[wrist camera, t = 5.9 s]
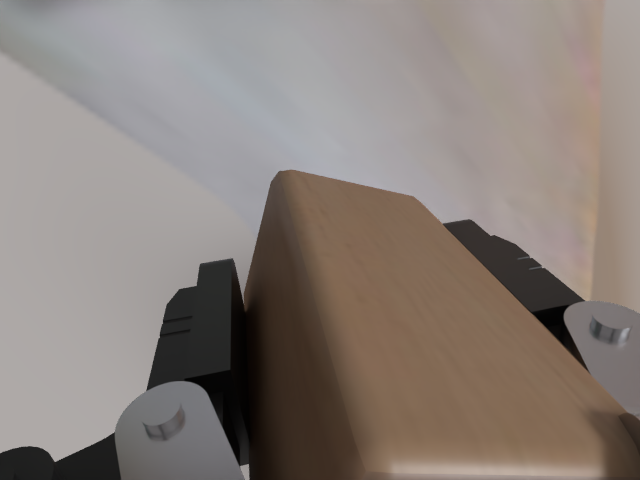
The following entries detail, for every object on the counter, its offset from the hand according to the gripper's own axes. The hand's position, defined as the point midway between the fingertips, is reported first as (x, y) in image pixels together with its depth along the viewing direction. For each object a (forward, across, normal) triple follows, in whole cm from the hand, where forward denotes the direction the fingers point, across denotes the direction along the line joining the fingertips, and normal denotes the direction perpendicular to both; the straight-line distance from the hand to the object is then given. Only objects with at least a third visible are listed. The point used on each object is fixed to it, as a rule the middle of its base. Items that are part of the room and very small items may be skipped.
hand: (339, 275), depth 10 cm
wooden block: (+2, 0, 0) cm, 2 cm away
